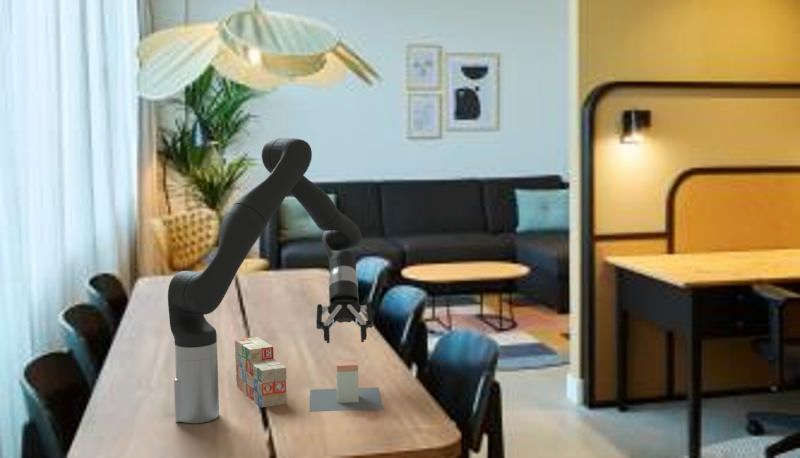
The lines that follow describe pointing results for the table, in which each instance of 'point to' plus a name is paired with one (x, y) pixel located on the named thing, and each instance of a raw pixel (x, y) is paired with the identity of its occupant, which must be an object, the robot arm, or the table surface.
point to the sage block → (347, 381)
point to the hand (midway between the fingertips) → (345, 341)
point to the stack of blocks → (259, 372)
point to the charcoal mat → (328, 402)
